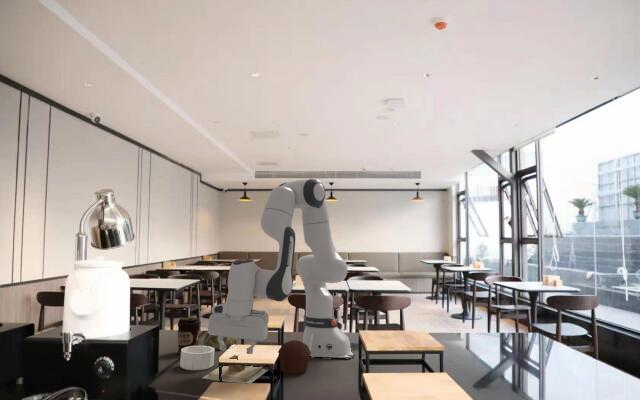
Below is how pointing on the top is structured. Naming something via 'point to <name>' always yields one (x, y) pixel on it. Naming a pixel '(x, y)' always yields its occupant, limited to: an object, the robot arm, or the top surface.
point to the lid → (236, 372)
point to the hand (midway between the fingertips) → (236, 351)
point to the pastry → (213, 342)
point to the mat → (238, 381)
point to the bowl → (197, 357)
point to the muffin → (294, 357)
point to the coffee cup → (188, 332)
